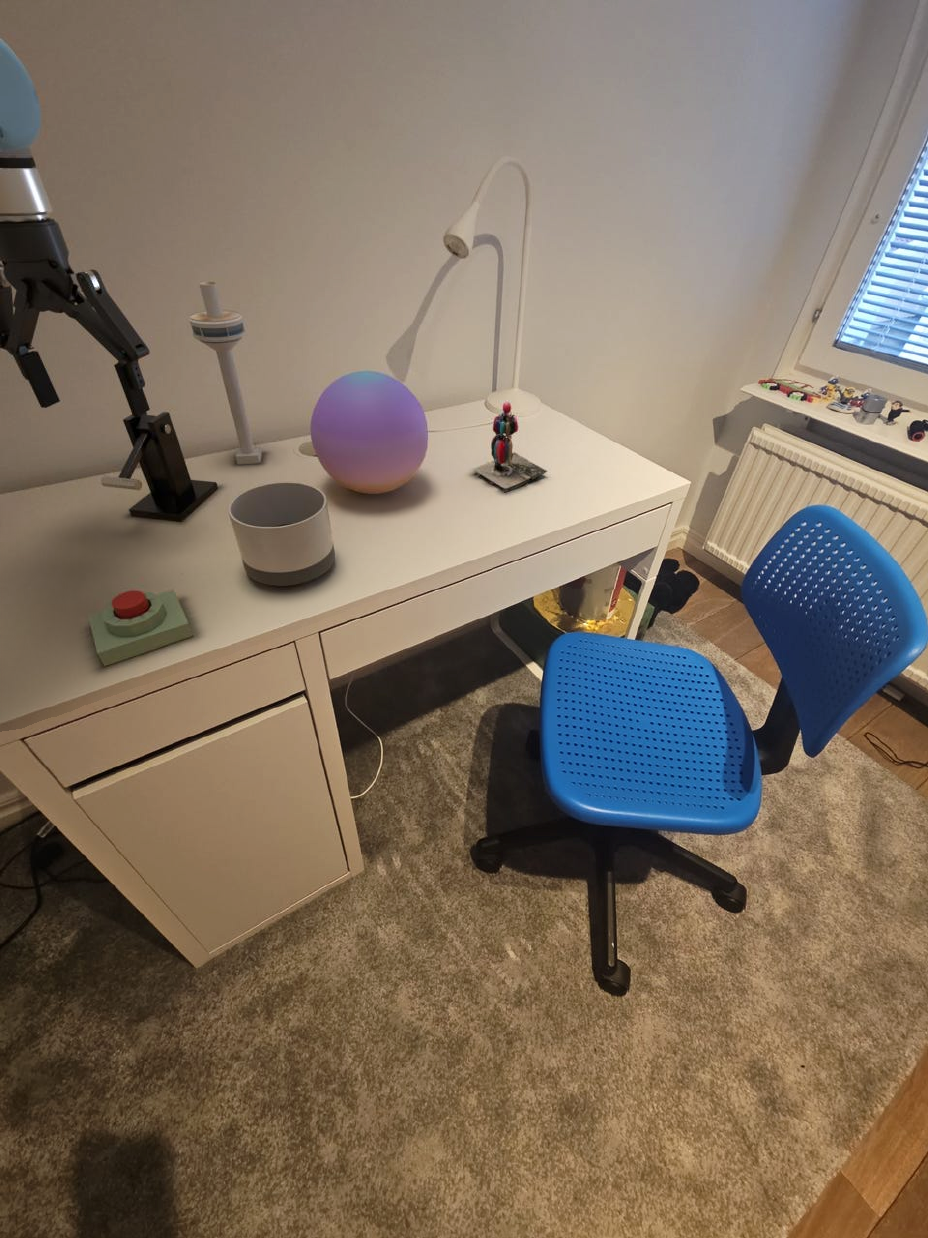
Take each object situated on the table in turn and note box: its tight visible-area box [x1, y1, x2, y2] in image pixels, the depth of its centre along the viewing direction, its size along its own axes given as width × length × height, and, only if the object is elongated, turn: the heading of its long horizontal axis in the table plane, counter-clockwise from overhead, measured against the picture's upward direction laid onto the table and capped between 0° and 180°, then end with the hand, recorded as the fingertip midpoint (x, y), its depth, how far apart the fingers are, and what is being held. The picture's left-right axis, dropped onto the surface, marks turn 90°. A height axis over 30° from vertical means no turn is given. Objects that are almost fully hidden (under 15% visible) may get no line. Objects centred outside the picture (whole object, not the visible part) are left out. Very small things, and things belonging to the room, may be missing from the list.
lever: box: [100, 414, 157, 491], centre depth 83 cm, size 13×6×2 cm, turn 172°
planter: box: [227, 481, 336, 587], centre depth 76 cm, size 13×13×10 cm
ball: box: [309, 370, 429, 495], centre depth 93 cm, size 20×20×20 cm
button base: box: [87, 589, 194, 667], centre depth 67 cm, size 10×8×4 cm
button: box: [111, 589, 150, 619], centre depth 65 cm, size 4×4×2 cm
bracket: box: [122, 411, 219, 522], centre depth 88 cm, size 12×9×15 cm
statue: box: [473, 401, 548, 494], centre depth 100 cm, size 11×9×15 cm
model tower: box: [188, 281, 263, 465], centre depth 97 cm, size 8×8×30 cm
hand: (95, 408), depth 74 cm, fingers open, 13 cm apart
